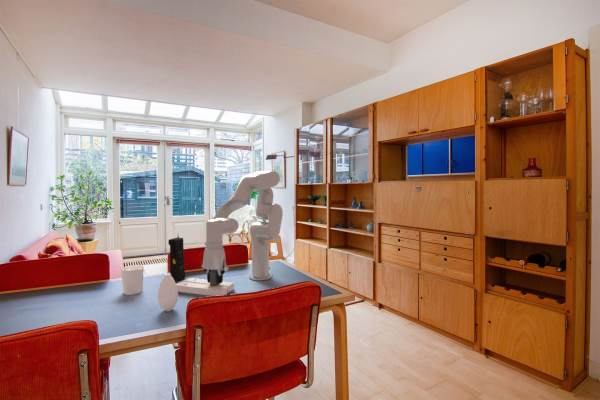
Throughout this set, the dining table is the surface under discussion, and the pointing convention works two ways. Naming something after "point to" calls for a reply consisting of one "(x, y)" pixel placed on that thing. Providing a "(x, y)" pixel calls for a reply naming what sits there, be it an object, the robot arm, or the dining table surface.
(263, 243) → the robot arm
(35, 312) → the dining table surface
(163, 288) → the sauce bottle
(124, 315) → the dining table surface
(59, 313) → the dining table surface
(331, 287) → the dining table surface
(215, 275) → the fader tab
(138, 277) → the candle holder
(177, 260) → the portable radio
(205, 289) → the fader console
